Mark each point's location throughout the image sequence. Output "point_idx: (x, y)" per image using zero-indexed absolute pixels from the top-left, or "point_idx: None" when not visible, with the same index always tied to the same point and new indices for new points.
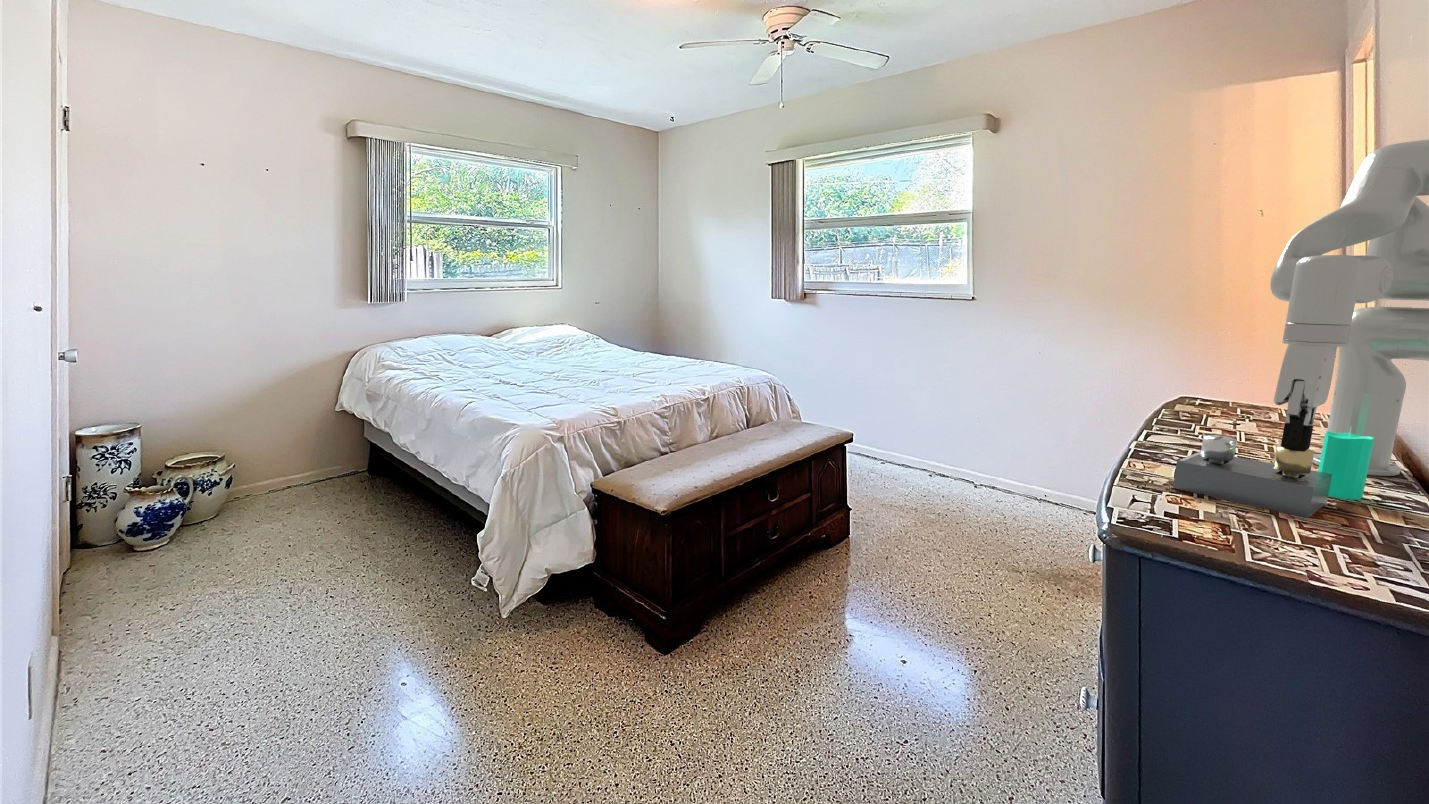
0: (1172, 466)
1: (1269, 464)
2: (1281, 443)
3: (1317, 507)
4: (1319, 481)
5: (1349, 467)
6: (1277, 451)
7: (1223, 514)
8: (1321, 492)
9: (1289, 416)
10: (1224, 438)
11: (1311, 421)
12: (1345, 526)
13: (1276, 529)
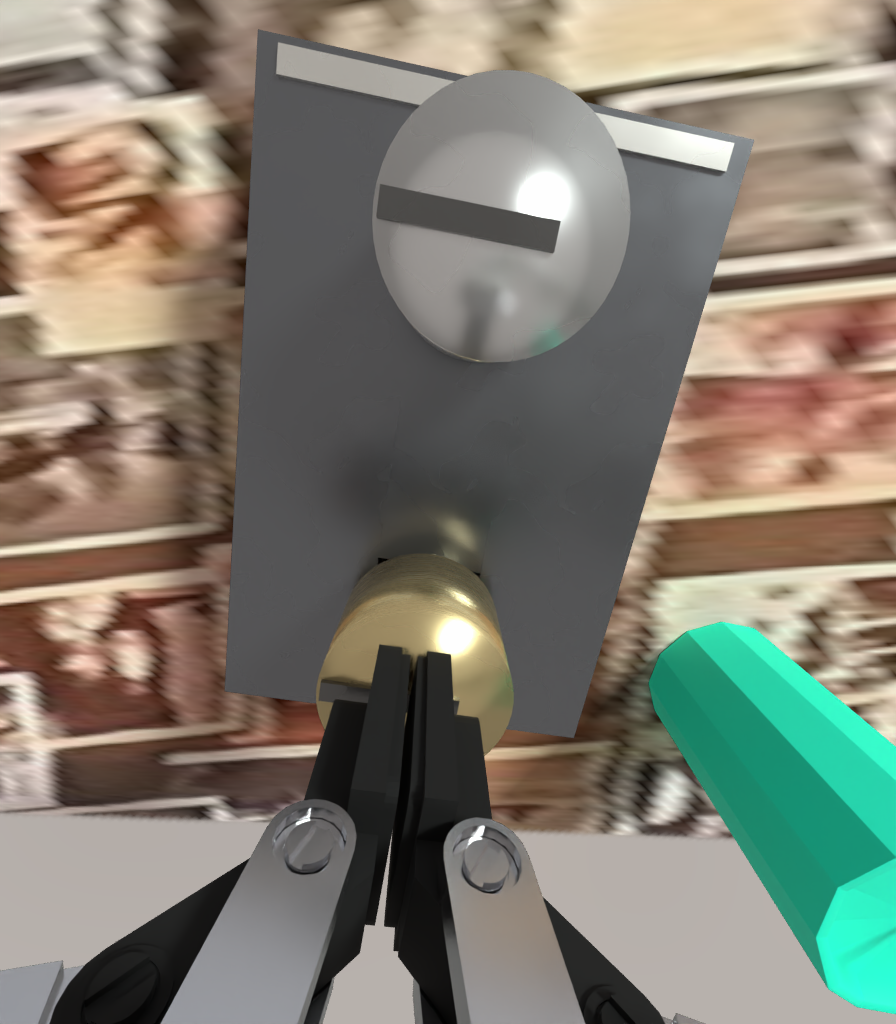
0: (839, 39)
1: (596, 523)
2: (378, 654)
3: None
4: None
5: (715, 793)
6: (369, 610)
7: (53, 385)
8: None
9: (128, 937)
10: (502, 266)
11: (414, 991)
12: (272, 698)
13: (32, 547)
